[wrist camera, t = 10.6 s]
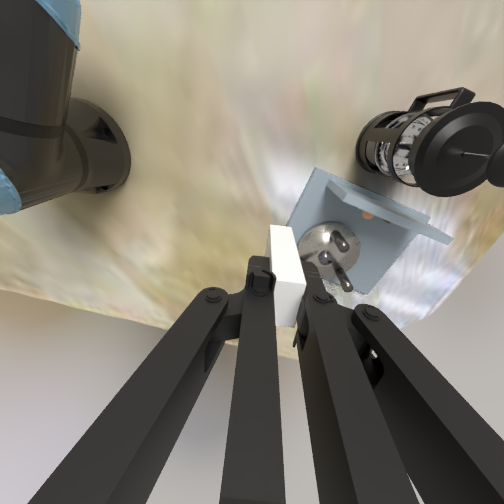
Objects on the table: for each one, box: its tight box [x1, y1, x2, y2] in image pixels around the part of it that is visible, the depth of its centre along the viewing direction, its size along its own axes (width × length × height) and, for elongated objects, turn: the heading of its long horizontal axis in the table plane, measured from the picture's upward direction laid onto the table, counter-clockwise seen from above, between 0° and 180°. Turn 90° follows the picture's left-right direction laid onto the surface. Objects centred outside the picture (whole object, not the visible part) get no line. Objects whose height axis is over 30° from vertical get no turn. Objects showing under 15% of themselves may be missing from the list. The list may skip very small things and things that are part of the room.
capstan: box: [297, 221, 361, 292], centre depth 43 cm, size 12×12×8 cm
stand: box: [286, 167, 454, 294], centre depth 41 cm, size 24×20×11 cm
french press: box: [356, 87, 504, 197], centre depth 28 cm, size 12×9×23 cm
